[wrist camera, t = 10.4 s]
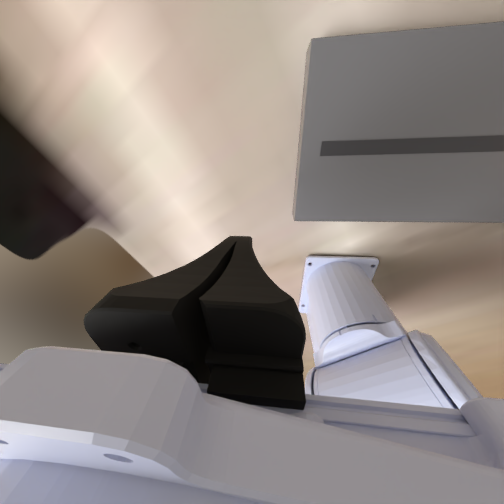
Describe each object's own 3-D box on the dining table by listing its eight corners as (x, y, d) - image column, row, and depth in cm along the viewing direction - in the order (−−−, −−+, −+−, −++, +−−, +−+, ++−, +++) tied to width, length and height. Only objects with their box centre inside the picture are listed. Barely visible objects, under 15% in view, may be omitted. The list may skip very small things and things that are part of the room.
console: (582, 214, 17) (619, 223, 15) (292, 213, 19) (294, 221, 18) (774, 13, 10) (875, -13, 9) (306, 51, 13) (311, 38, 11)
